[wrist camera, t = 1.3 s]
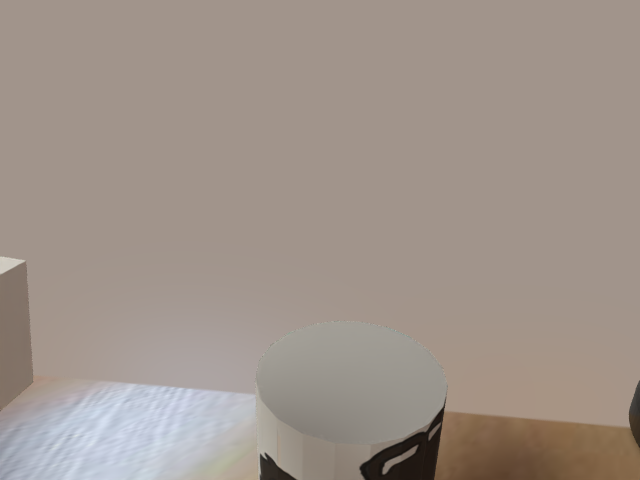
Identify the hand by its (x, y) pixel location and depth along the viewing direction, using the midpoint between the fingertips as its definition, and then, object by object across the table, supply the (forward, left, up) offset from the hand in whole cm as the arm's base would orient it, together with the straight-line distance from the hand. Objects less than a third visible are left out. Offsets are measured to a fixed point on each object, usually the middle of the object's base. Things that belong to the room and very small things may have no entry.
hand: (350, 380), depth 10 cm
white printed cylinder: (-1, -7, -21) cm, 22 cm away
